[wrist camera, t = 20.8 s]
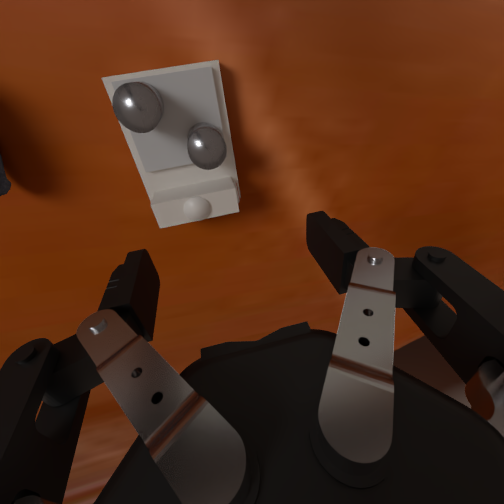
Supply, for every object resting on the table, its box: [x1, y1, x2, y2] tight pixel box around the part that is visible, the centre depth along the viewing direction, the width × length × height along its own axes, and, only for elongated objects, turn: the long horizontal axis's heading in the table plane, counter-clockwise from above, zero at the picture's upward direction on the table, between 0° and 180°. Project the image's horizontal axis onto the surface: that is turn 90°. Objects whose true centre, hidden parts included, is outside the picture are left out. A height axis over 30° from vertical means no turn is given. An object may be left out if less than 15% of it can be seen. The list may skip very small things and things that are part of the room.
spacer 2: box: [187, 122, 227, 170], centre depth 31 cm, size 4×4×5 cm
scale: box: [102, 60, 241, 228], centre depth 32 cm, size 17×13×7 cm
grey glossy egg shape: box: [112, 81, 164, 133], centre depth 27 cm, size 4×4×5 cm
